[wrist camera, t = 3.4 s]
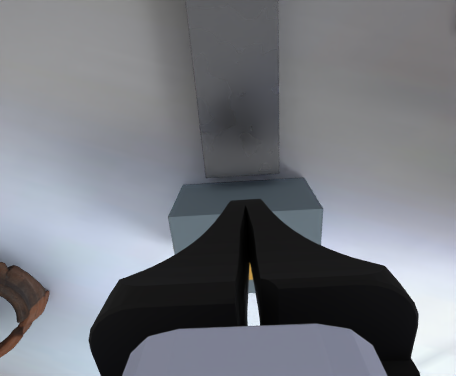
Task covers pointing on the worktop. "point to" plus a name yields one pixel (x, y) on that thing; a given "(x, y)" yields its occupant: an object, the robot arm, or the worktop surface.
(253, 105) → the rail
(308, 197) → the blue grey control box
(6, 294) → the pottery mug
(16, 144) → the worktop surface
